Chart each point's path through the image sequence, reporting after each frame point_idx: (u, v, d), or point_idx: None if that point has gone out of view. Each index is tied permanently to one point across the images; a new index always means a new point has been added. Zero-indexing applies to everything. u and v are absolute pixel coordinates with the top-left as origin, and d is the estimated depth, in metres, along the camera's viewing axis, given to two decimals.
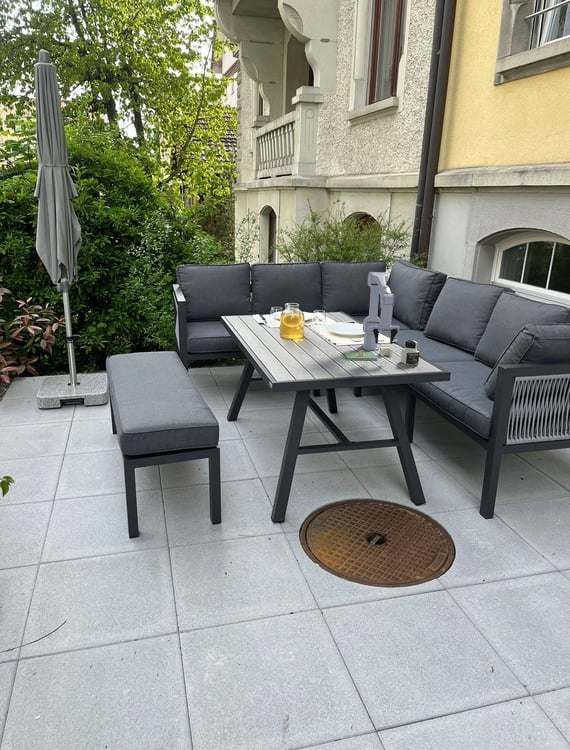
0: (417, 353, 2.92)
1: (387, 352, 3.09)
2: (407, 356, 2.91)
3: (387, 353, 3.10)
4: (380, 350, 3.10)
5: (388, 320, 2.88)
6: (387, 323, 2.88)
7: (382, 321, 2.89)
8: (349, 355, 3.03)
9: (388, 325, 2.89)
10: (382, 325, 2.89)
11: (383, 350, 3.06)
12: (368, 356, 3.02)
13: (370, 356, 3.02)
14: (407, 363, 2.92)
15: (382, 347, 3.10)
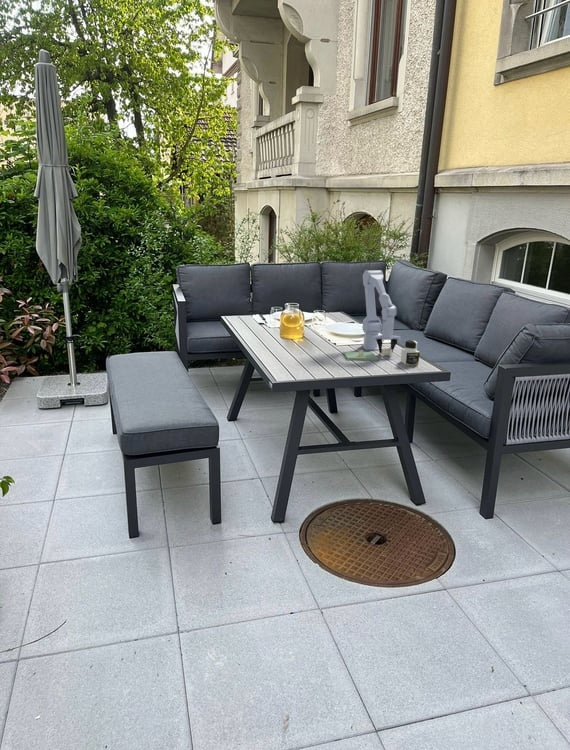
0: (417, 353, 2.92)
1: (387, 352, 3.09)
2: (407, 356, 2.91)
3: (387, 353, 3.10)
4: None
5: (390, 331, 3.03)
6: (389, 334, 3.03)
7: (384, 332, 3.04)
8: (349, 355, 3.03)
9: (390, 335, 3.04)
10: (384, 335, 3.04)
11: (383, 350, 3.06)
12: (368, 356, 3.02)
13: (370, 356, 3.02)
14: (407, 363, 2.92)
15: (382, 347, 3.10)
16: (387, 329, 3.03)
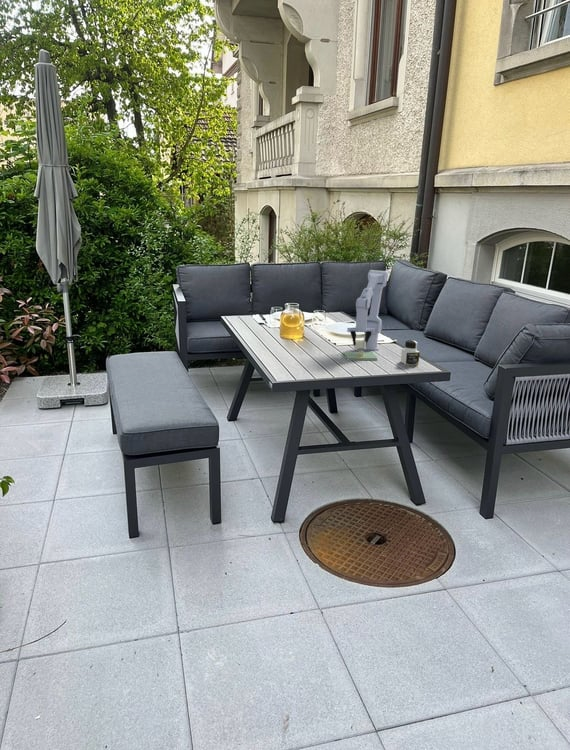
0: (417, 353, 2.92)
1: (361, 344, 3.05)
2: (407, 356, 2.91)
3: (361, 346, 3.05)
4: None
5: (363, 323, 2.99)
6: (362, 326, 2.99)
7: (358, 324, 3.00)
8: (349, 355, 3.03)
9: (363, 328, 3.00)
10: (358, 328, 3.00)
11: (357, 343, 3.02)
12: (368, 356, 3.02)
13: (370, 356, 3.02)
14: (407, 363, 2.92)
15: (356, 340, 3.06)
16: (361, 321, 2.99)
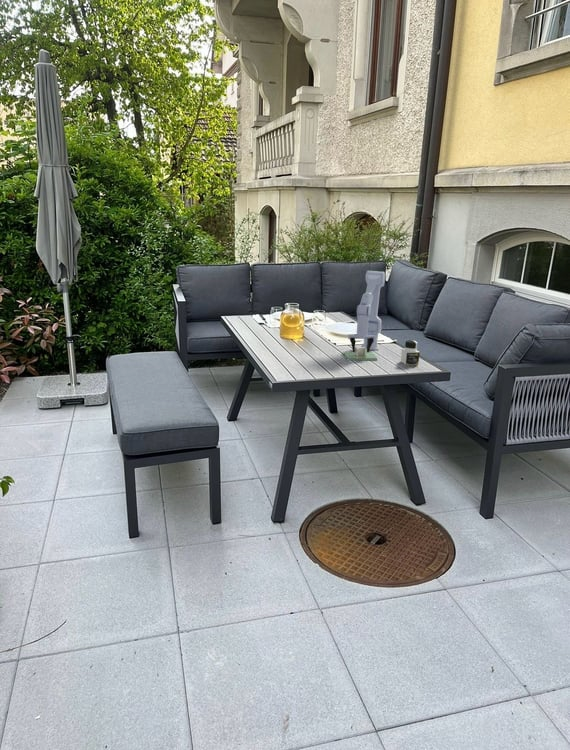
0: (417, 353, 2.92)
1: None
2: (407, 356, 2.91)
3: None
4: (355, 350, 3.04)
5: (364, 329, 2.97)
6: (363, 332, 2.97)
7: (358, 330, 2.98)
8: (349, 355, 3.03)
9: (364, 334, 2.98)
10: (358, 334, 2.98)
11: (358, 349, 3.00)
12: (368, 356, 3.02)
13: (370, 356, 3.02)
14: (407, 363, 2.92)
15: (357, 347, 3.04)
16: (361, 328, 2.97)
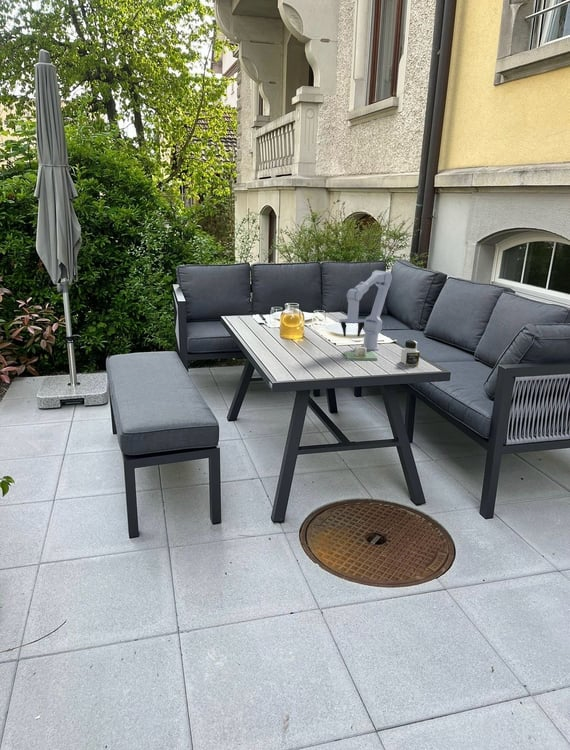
0: (417, 353, 2.92)
1: None
2: (407, 356, 2.91)
3: None
4: (355, 350, 3.04)
5: (355, 314, 3.02)
6: (354, 317, 3.02)
7: (349, 315, 3.03)
8: (349, 355, 3.03)
9: (355, 319, 3.03)
10: (349, 319, 3.03)
11: (358, 349, 3.00)
12: (368, 356, 3.02)
13: (370, 356, 3.02)
14: (407, 363, 2.92)
15: (357, 347, 3.04)
16: (352, 312, 3.01)
